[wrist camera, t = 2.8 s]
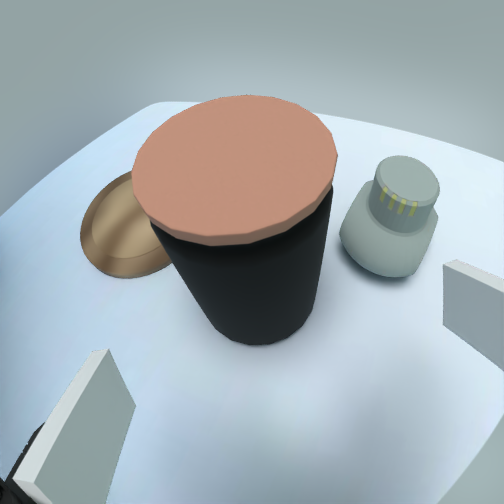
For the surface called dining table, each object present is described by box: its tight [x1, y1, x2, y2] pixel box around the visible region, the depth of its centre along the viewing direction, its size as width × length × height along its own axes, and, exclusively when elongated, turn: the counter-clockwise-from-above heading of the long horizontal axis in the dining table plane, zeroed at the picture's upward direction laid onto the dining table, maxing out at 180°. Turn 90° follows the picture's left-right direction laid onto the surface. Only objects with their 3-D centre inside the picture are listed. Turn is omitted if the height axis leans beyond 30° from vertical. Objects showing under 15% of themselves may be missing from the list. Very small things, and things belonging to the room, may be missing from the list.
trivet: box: [80, 171, 172, 278], centre depth 37 cm, size 16×16×1 cm
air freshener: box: [339, 156, 440, 277], centre depth 28 cm, size 11×8×10 cm
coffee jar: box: [131, 95, 338, 345], centre depth 23 cm, size 11×11×18 cm
